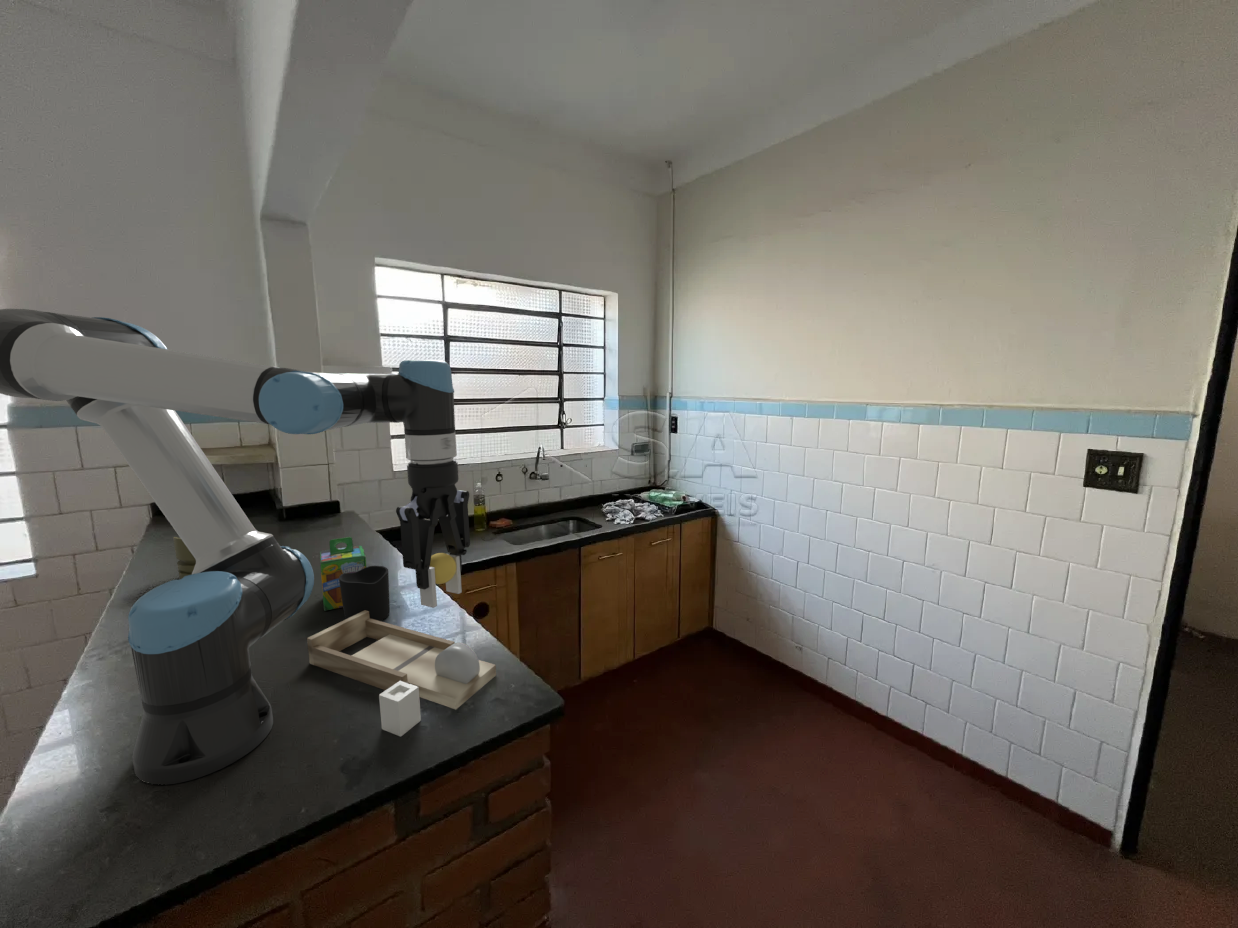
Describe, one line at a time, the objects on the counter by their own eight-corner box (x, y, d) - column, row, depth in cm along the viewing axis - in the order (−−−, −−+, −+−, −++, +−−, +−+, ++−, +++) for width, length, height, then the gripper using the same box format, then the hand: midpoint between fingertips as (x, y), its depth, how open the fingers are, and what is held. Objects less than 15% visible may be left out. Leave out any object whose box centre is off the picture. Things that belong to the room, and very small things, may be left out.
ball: (441, 591, 78) (439, 561, 77) (418, 585, 80) (415, 556, 79) (463, 579, 82) (461, 551, 82) (440, 574, 84) (438, 546, 84)
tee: (400, 736, 71) (397, 701, 70) (381, 729, 73) (378, 694, 72) (420, 720, 75) (418, 686, 74) (402, 713, 76) (399, 680, 75)
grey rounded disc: (468, 695, 81) (466, 656, 79) (435, 685, 83) (433, 646, 82) (480, 685, 83) (478, 647, 82) (448, 675, 86) (446, 638, 85)
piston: (163, 540, 121) (186, 527, 131) (170, 587, 123) (193, 570, 133) (218, 536, 124) (236, 524, 135) (224, 581, 126) (242, 565, 137)
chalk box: (324, 612, 109) (317, 548, 107) (323, 597, 117) (317, 537, 115) (370, 602, 114) (364, 541, 112) (366, 588, 122) (361, 531, 119)
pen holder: (384, 625, 103) (380, 581, 102) (336, 629, 102) (331, 583, 100) (396, 605, 113) (393, 564, 111) (352, 608, 111) (348, 566, 109)
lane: (451, 713, 76) (449, 684, 76) (309, 663, 90) (306, 638, 89) (499, 672, 87) (498, 646, 86) (366, 633, 100) (364, 610, 100)
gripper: (404, 471, 68) (416, 627, 72) (488, 453, 84) (494, 581, 88) (366, 467, 71) (379, 617, 75) (454, 451, 87) (461, 575, 91)
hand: (441, 598), depth 82 cm, fingers closed on ball, 5 cm apart
